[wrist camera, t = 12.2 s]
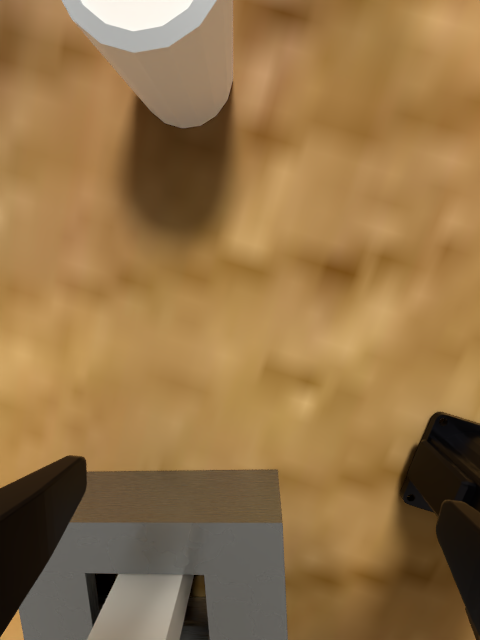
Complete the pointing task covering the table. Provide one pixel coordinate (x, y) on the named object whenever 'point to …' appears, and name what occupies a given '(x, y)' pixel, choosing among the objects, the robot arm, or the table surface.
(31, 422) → the table surface
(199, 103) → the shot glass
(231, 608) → the box
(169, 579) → the block
